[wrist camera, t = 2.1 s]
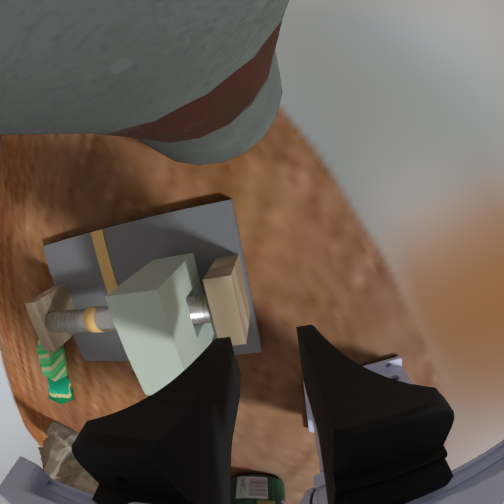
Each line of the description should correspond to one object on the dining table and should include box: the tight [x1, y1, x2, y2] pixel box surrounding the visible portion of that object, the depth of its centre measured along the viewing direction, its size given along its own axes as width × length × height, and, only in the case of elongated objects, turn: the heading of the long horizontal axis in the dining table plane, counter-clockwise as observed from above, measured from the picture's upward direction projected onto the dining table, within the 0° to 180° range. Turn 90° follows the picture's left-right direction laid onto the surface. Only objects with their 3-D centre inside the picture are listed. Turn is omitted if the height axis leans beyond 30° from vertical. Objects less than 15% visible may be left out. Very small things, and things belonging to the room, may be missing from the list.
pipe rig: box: [25, 199, 262, 361], centre depth 19 cm, size 18×12×6 cm, turn 100°
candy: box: [37, 338, 74, 404], centre depth 23 cm, size 12×3×4 cm
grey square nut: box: [105, 253, 214, 395], centre depth 16 cm, size 3×6×7 cm, turn 10°
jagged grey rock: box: [39, 421, 99, 495], centre depth 24 cm, size 16×16×15 cm
